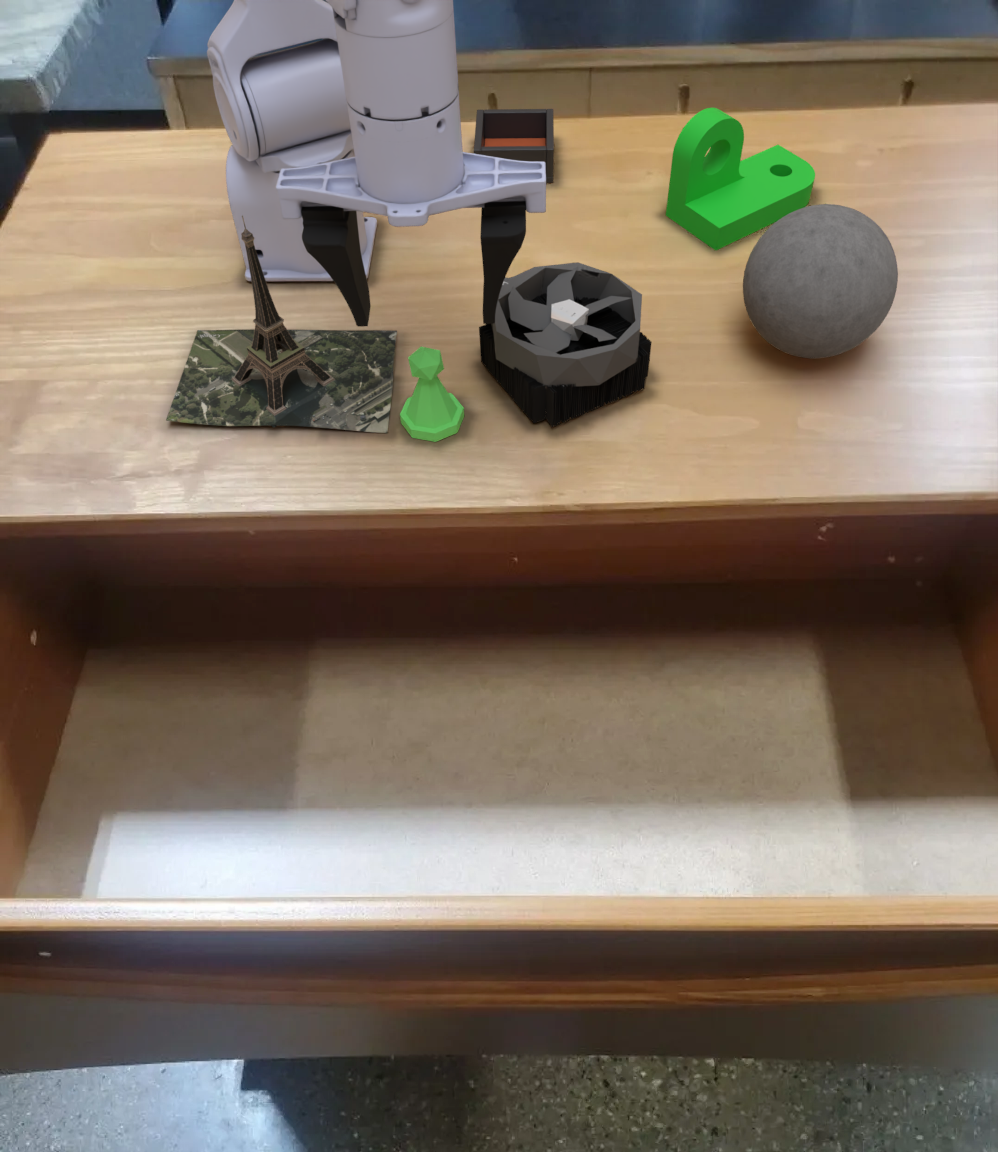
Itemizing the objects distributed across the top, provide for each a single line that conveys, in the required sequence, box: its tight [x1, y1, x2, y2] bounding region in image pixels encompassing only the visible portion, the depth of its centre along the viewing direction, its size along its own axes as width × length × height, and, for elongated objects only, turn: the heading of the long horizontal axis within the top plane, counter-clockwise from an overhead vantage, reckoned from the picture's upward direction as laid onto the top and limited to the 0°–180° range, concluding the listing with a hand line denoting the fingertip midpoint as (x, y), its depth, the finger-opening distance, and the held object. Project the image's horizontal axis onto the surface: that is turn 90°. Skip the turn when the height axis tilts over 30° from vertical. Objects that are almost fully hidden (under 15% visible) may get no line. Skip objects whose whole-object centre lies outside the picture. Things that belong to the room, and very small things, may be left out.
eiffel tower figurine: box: [165, 216, 398, 434], centre depth 66 cm, size 15×10×13 cm
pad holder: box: [473, 108, 555, 184], centre depth 87 cm, size 7×7×3 cm
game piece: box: [399, 346, 465, 443], centre depth 67 cm, size 4×4×6 cm
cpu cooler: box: [478, 262, 652, 428], centre depth 69 cm, size 10×6×10 cm
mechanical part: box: [665, 107, 816, 252], centre depth 80 cm, size 12×6×8 cm, turn 125°
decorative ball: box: [742, 203, 899, 359], centre depth 69 cm, size 10×10×10 cm
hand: (426, 315), depth 62 cm, fingers open, 7 cm apart
